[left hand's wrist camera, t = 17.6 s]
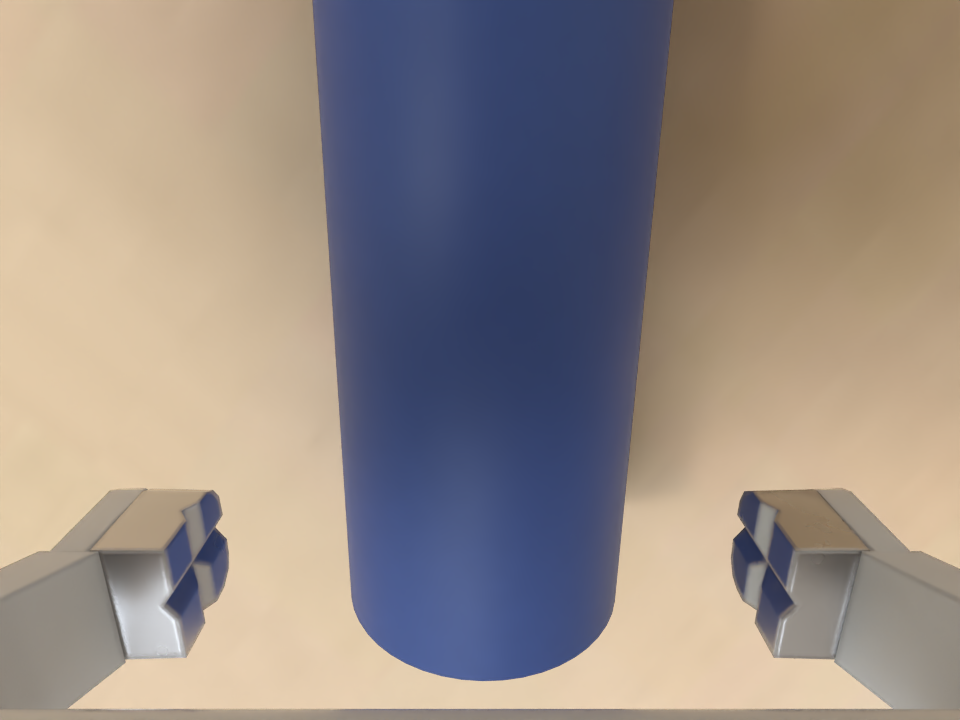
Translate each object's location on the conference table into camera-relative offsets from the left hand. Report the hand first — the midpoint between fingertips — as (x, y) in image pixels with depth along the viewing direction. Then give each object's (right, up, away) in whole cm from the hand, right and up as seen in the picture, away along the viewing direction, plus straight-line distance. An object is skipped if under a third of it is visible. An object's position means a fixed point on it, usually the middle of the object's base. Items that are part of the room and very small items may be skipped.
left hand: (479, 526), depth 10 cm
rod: (0, +9, +4) cm, 10 cm away
